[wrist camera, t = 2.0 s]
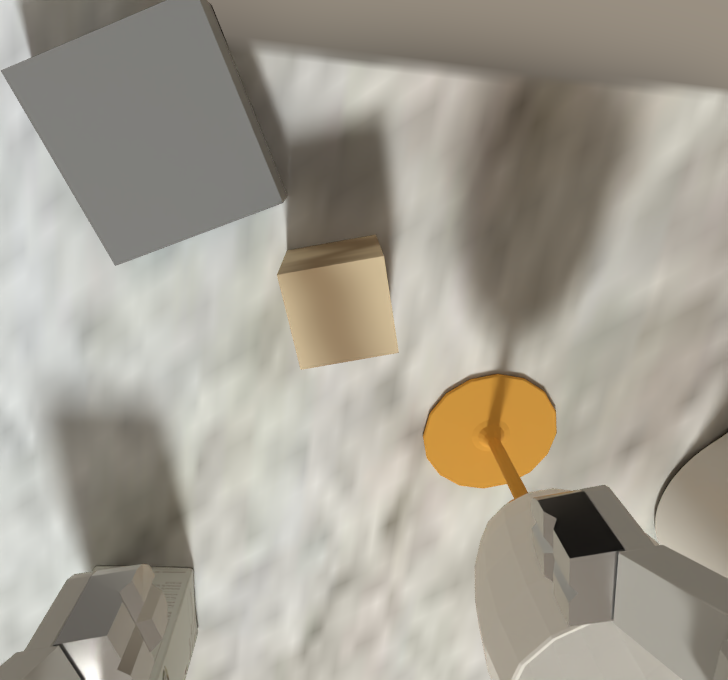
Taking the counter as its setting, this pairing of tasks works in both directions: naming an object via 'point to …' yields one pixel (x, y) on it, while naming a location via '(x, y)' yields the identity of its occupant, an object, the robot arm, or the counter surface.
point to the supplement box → (174, 622)
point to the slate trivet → (150, 128)
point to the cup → (521, 539)
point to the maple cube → (338, 302)
